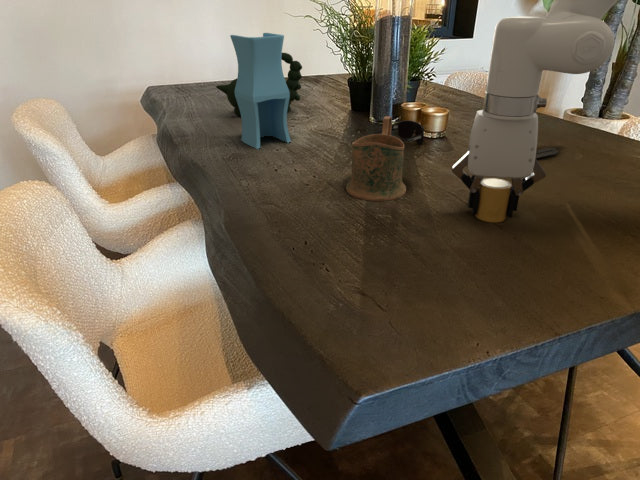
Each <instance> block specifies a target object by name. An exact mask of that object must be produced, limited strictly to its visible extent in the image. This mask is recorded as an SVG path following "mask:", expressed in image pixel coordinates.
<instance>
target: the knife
mask: <svg viewBox="0 0 640 480" xmlns="http://www.w3.org/2000/svg"><path fill="white" fill-rule="evenodd" d="M559 150H560V148H553V147H552V148H549V147H547V148H542V149H538V150H537V149H536V156H535V158H536V159H540V158H543V157H548V156H553V155H556V154H558V152H559Z"/></svg>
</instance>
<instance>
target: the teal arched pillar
mask: <svg viewBox="0 0 640 480" xmlns="http://www.w3.org/2000/svg"><path fill="white" fill-rule="evenodd" d="M229 37H230V39H231V42H232V45H233V48H234V50H235V51H234V52H235V55H236V56H235V57H236V61H237V83H236V87H235V97H236V100H237V103H238V106H239V110H240V113H241V116H240V118H241V142H242V141H243V142H242V143H244V144H246V145H247V146H250V147H252V148H253V147H254V149H255V148H256V149H255V150H260V149H261V138H264V136H273V137H274V138H275V137H276V138H275V139H277V138H278V140H280V141H282V142H284V141H285V142H284V143H286V142H287V143H286V144H290V143H289V142H291V143H292V140H291V137H290V132H289V128H288V112H287V109H288V104H289V99H290V92H289V89H288V87H287V84H286V81H287V80H286V79H285V76H284V73H283V72H284V71H283V64H282V61H283V60H281V58H282V53H283V46H284V40H285V35H284V34H279V33H272V32H263V33H262V36H242V35H237V34H230V35H229ZM259 148H260V149H259Z"/></svg>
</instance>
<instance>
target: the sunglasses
mask: <svg viewBox="0 0 640 480" xmlns="http://www.w3.org/2000/svg"><path fill="white" fill-rule="evenodd" d="M395 130H397V134H398V137H400V138H401V139H400V140H401V141H402V142H403V143H404V142H408V143H412V142H415V141H416V145H417V146H423V143H424V139H425V129H424V126H423V125H422V124H421V123H419V122H417V121H414V120H409V119H408V120H401V121H400V122H399V123H396V124H394V125H392V127H391V132H392V131H395ZM381 133H382V129H381V130H378V131H376V132H374V133H373V134H381ZM413 135H414V136H413Z"/></svg>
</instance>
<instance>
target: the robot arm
mask: <svg viewBox="0 0 640 480" xmlns="http://www.w3.org/2000/svg"><path fill="white" fill-rule="evenodd" d="M617 2H619V0H555V2H554V4H553V5H552V7H550V9H549V11H548V12H547V13H546V15H545V17H539V16H506V17H503V18H501V19H499V20H498V21H497V23H496V24H495V27H494V30H493V31H494V32H493V37H492V45H491V46H492V47H491V52H490V59H489V64H488V72H487V79H486V85H485V93H484V98H483V99H484V100H483V105H482V109H480V110H477V111H476V114H475V117H474V119H473V122H472V127H471V131H470V135H469V140H468V145H467V151H466V153H465V154H464V155H462V157H461V158H459V160H457V161H456V162H455V163H454V164H453V165H452V166H451V172H452V174H453V175H455V176H456V177H457V178H458V179H459V180H460V181H461V182H462V183H463V184H464V185H465V186H466V187H467V189H468V190H469V193H468V198H467V199H468V200H467V208H468V209H470V210H471V215H472V216H475V215H476V214H477V210H478V203H479V197H480V193H479V186H480V184H481V182H482V180H483V179H485V178H497V179H511V185H512V187H511V192H510V197H509V203H508V208H507V213H506V217H508V218H513V213H514V212H516V211H517V210H518V204H519V199H520V196H522V195H523V193H524V192H525V191H527V190H528V189H529V188H531V187H532V186H533V185H534V184H535V183H538V182H540V181H542V180H544V179H545V178H546V176H547V173H546V172H545V170H544V168H543V167H542V166H541V164H540V162H539V161H538V160H537V159H538V158H535V156H536V151H537V147H538V137H539V136H538V135H539V116H538V114H537V113H536V112H537V110H538V109H540V108H546V106H547V102H548V99H547V98H545V97H544V98H543V97H540V95H539V91H540V86H541V80H542V75H543V71H549V72H555V73H556V72H557V73H562V74H570V75H582V74H587V73H590V72H593V71H595V70H597V69H599V68H600V67H601V66H603V65H604V64H605V63H606V62H607V60H608V59H610V57H611V55H612V53H613V49H614V48H615V36H614V32H613V30H612V29H611V27H610V26H609V25H608V24H607V23H606V21H604V20H602V19H603V18H604V16H605V15H606V14H607V13H608V12H609V11H610V10H611V8H612V7H613V6H614V5H615V4H616V3H617ZM466 167H467V171H468V173H467V172H465V170H464V169H465V168H466ZM470 175H471V176H470Z"/></svg>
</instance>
